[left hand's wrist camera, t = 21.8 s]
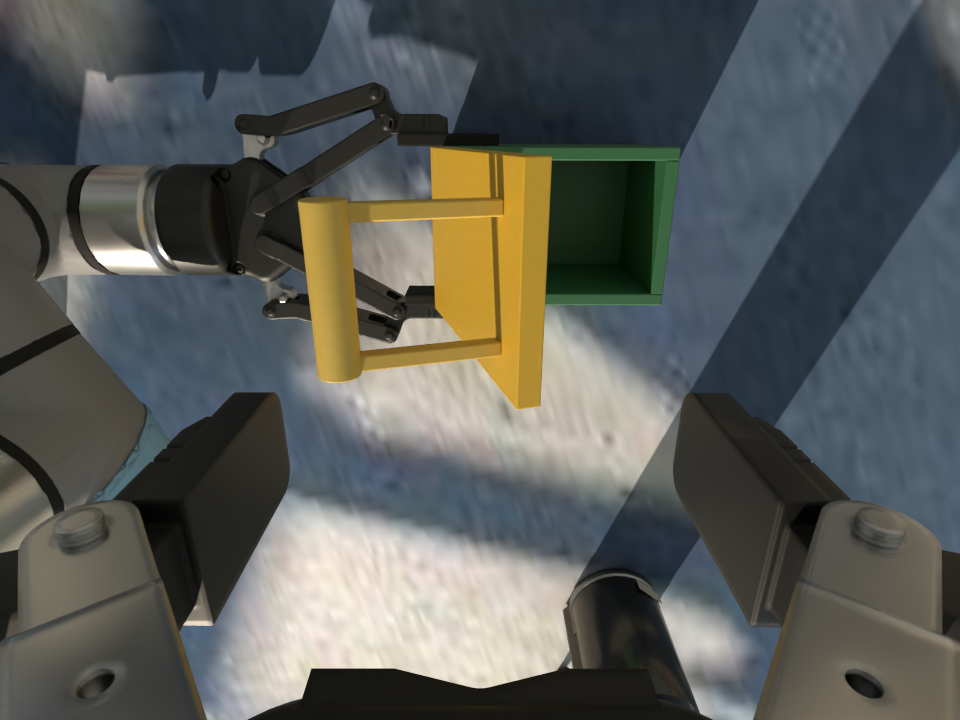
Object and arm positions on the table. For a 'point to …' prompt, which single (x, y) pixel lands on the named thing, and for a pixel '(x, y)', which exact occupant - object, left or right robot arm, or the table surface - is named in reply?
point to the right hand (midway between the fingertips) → (497, 221)
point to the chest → (606, 220)
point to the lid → (447, 269)
